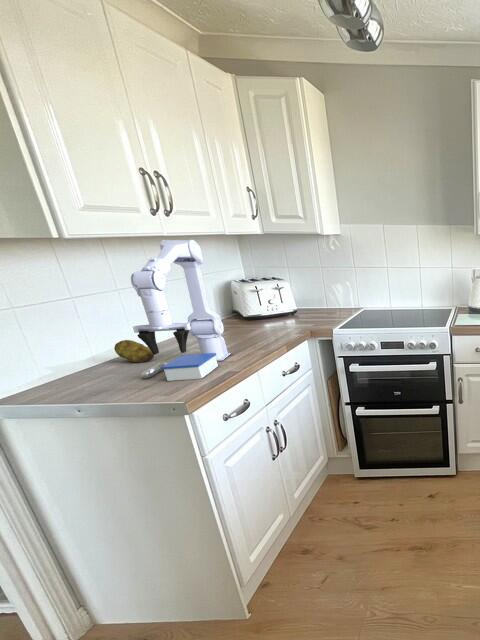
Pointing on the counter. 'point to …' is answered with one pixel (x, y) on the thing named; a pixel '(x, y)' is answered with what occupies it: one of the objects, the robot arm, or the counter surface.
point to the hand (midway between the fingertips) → (170, 352)
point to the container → (190, 366)
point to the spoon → (153, 370)
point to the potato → (133, 351)
